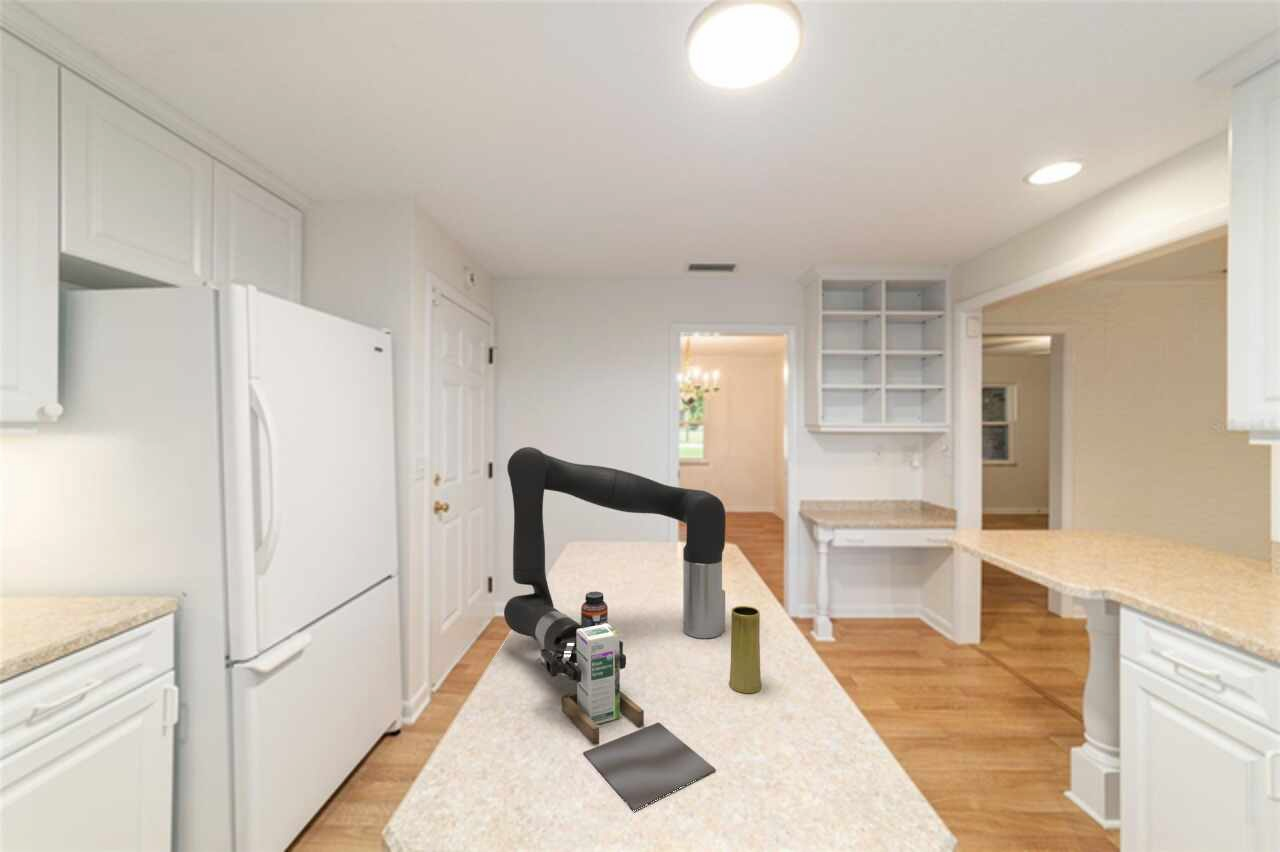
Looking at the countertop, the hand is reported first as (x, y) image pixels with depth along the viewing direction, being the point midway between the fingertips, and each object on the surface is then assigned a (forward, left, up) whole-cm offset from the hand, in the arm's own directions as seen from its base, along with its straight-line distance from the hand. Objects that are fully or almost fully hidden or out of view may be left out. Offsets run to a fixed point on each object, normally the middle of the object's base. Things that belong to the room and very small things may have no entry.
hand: (602, 669), depth 87 cm
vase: (-28, +5, -9) cm, 30 cm away
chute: (0, +7, -8) cm, 11 cm away
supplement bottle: (-13, -27, -9) cm, 31 cm away
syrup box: (0, -2, -9) cm, 9 cm away
